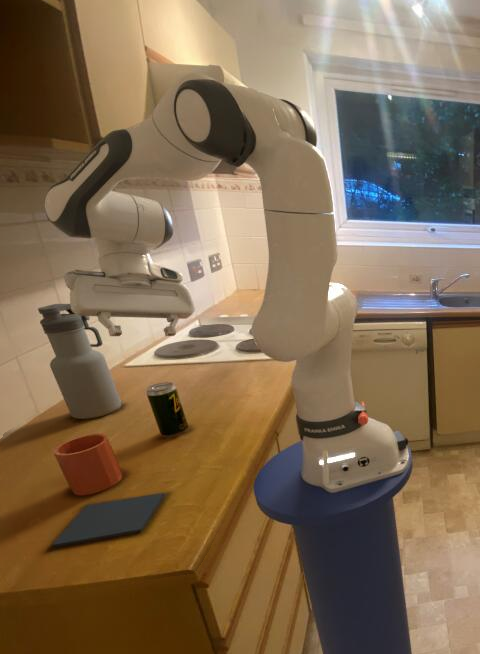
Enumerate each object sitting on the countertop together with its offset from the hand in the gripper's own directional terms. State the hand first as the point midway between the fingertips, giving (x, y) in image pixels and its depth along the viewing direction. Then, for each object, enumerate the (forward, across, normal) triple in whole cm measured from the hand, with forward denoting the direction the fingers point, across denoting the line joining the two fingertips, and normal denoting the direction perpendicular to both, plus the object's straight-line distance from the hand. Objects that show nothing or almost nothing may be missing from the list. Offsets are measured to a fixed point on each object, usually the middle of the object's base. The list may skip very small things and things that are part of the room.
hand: (144, 335), depth 91 cm
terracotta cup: (+27, -9, +10) cm, 30 cm away
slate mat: (+36, -12, -2) cm, 38 cm away
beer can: (+19, +8, +15) cm, 26 cm away
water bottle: (+5, +3, +41) cm, 41 cm away
